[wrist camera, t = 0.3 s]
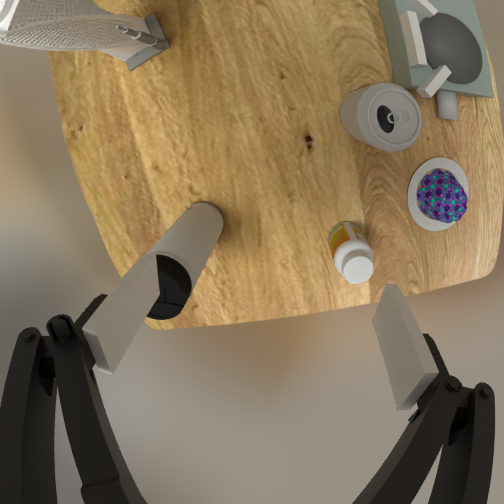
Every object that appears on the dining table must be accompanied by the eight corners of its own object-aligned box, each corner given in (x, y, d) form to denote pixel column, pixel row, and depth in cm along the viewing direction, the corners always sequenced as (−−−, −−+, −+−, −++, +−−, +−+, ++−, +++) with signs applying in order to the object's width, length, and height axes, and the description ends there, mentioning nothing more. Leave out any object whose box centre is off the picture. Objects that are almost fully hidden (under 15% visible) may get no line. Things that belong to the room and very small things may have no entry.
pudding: (406, 155, 35) (421, 161, 31) (468, 158, 33) (486, 165, 29) (403, 231, 41) (415, 245, 36) (462, 228, 39) (477, 241, 34)
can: (331, 95, 33) (351, 87, 22) (381, 85, 31) (418, 77, 20) (347, 146, 36) (372, 161, 25) (395, 135, 34) (435, 147, 23)
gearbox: (367, -30, 22) (383, -54, 14) (446, -14, 20) (471, -29, 12) (397, 115, 32) (424, 117, 25) (472, 121, 30) (505, 127, 23)
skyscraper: (123, 76, 33) (-38, 77, 9) (107, 38, 30) (-41, 19, 6) (170, 46, 31) (19, -4, 6) (152, 9, 28) (15, -53, 3)
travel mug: (183, 198, 42) (116, 264, 24) (226, 203, 42) (182, 278, 24) (182, 235, 45) (124, 316, 27) (222, 242, 45) (183, 330, 27)
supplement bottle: (327, 254, 44) (336, 290, 35) (327, 221, 41) (338, 252, 33) (360, 252, 43) (376, 287, 34) (362, 220, 40) (381, 250, 32)
